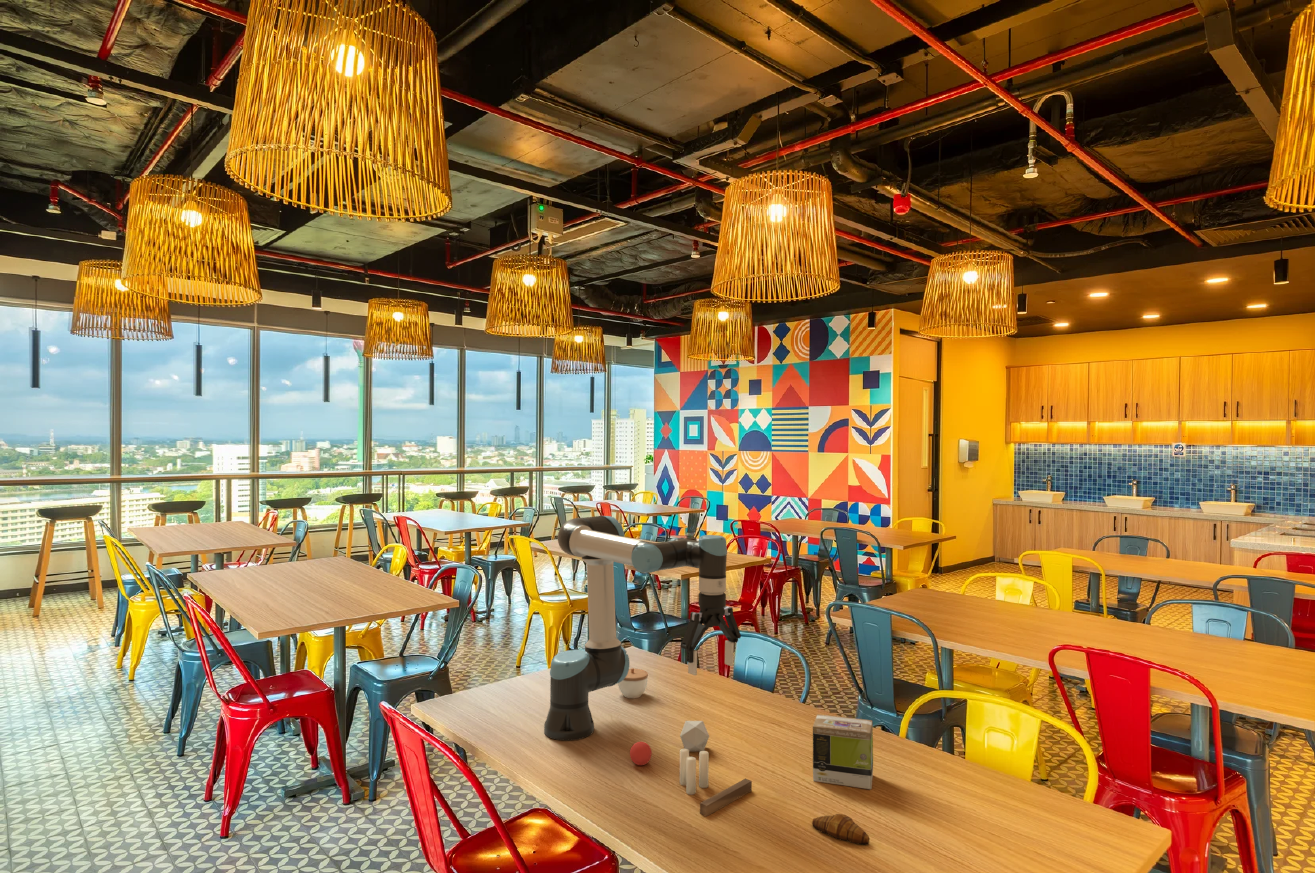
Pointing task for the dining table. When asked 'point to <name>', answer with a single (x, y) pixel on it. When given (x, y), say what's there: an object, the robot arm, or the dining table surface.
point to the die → (694, 735)
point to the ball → (640, 753)
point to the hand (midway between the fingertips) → (711, 669)
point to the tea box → (843, 751)
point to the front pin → (683, 765)
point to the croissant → (841, 828)
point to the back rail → (725, 797)
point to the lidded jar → (634, 683)
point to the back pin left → (703, 769)
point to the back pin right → (691, 775)
